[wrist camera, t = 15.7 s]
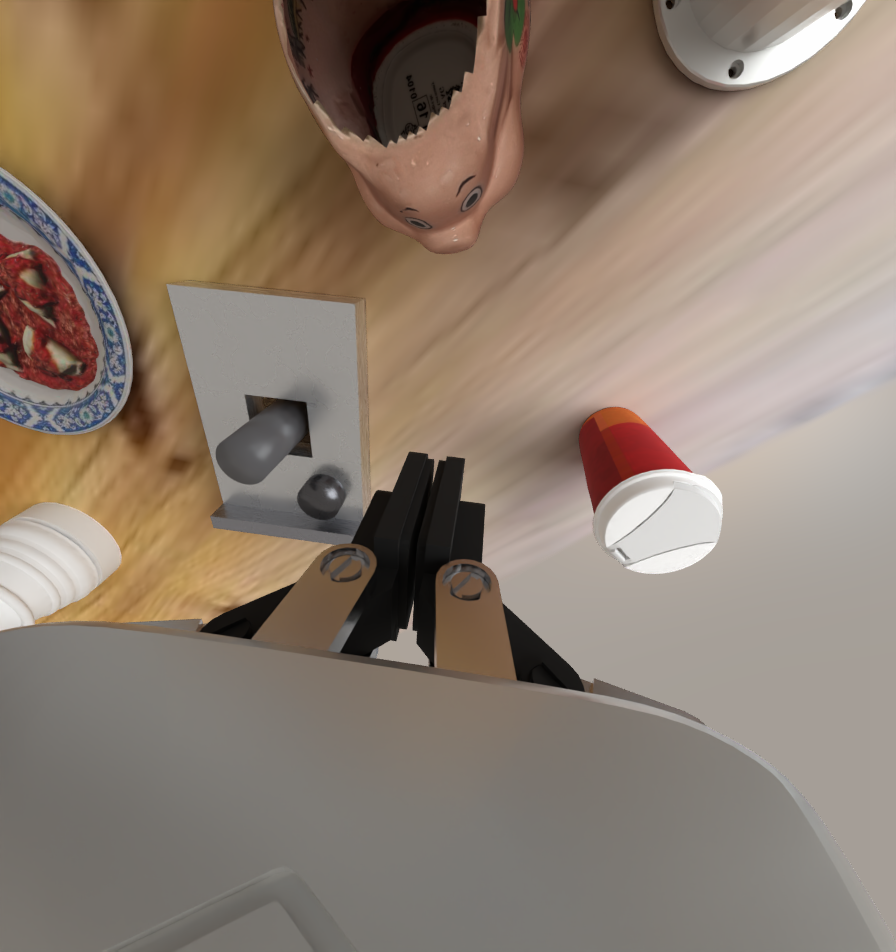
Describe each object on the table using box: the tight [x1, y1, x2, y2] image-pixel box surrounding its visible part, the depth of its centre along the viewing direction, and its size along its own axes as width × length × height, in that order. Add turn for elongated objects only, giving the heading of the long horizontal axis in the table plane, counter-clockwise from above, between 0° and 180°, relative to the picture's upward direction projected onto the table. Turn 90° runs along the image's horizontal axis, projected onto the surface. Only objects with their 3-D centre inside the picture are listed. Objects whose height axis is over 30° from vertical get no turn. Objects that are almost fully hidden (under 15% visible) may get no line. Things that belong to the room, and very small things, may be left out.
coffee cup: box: [579, 407, 723, 574], centre depth 33 cm, size 8×8×15 cm
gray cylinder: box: [216, 399, 310, 485], centre depth 38 cm, size 4×4×10 cm
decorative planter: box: [273, 0, 531, 254], centre depth 22 cm, size 20×12×14 cm, turn 22°
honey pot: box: [0, 502, 122, 631], centre depth 48 cm, size 13×13×18 cm
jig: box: [166, 280, 371, 545], centre depth 40 cm, size 24×16×5 cm, turn 175°
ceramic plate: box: [0, 167, 133, 435], centre depth 38 cm, size 26×26×3 cm
